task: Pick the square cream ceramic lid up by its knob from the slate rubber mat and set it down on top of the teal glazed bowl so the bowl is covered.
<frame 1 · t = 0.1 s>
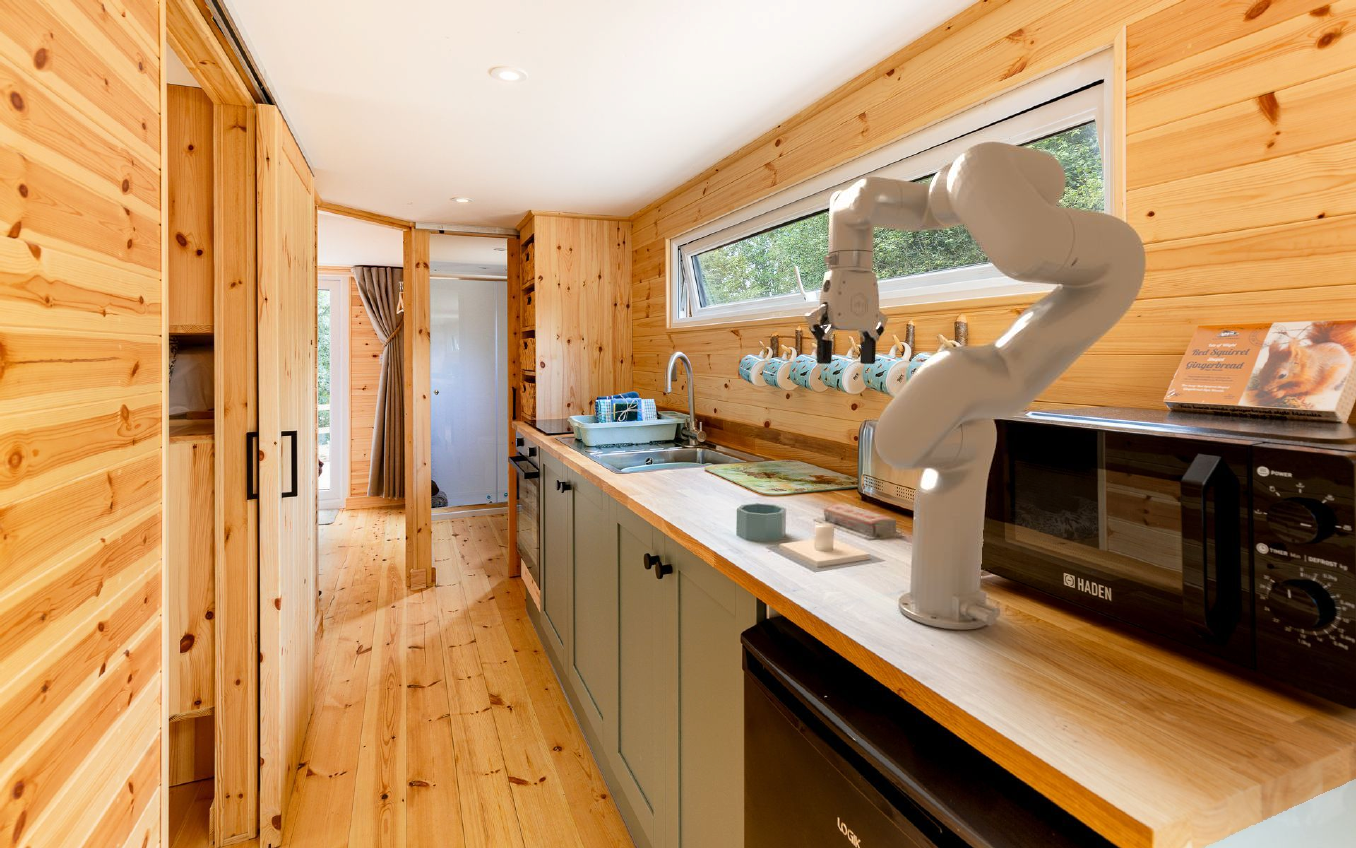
hand: (846, 363, 114), 37 cm above the worktop, tool pointing down, fingers open, 9 cm apart
mat: (823, 555, 124), on the worktop
lid: (823, 553, 124), resting on mat
packaged product: (856, 532, 143), on the worktop
bowl: (760, 536, 136), on the worktop
lidded jar: (956, 575, 114), on the worktop
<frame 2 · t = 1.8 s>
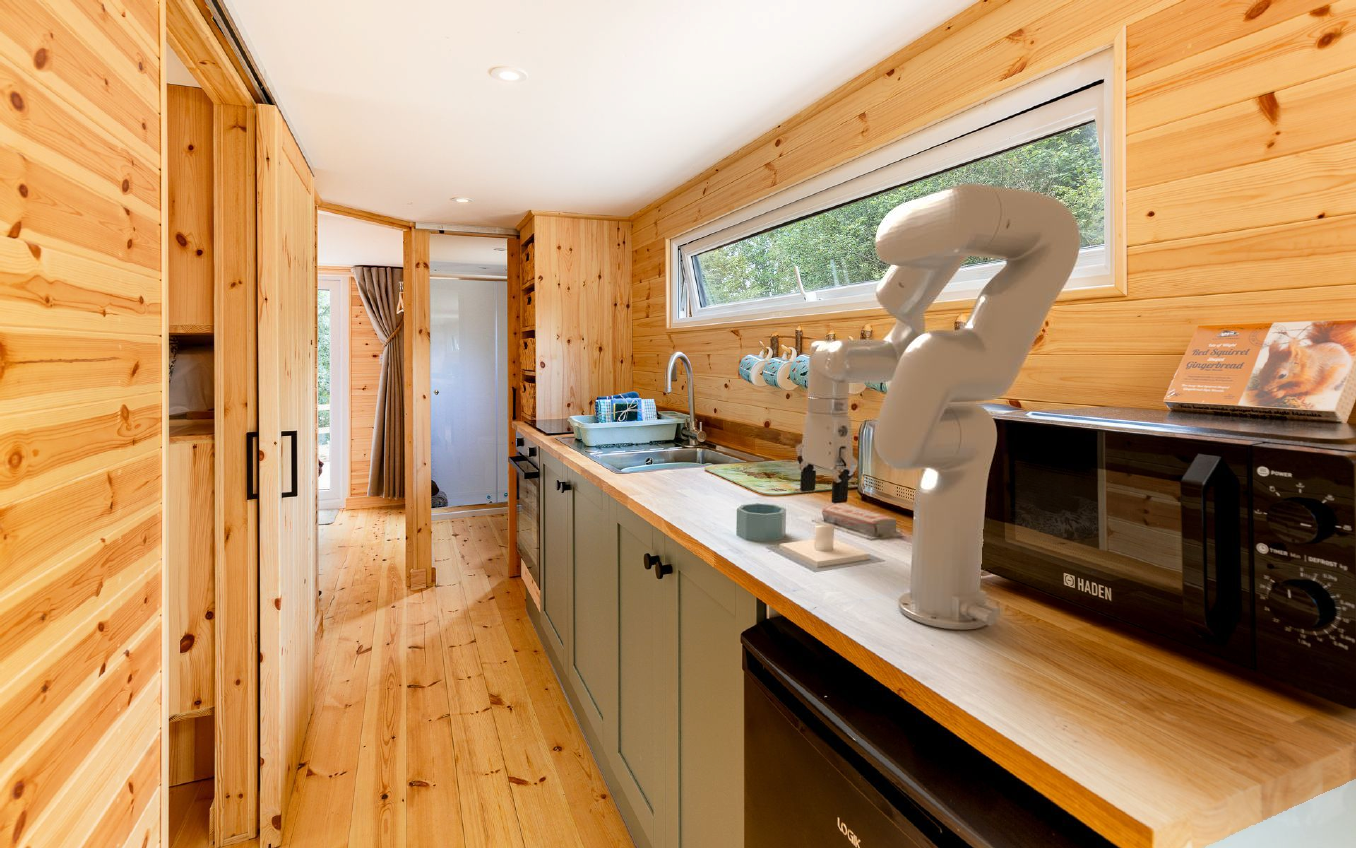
hand: (822, 496, 123), 11 cm above the worktop, tool pointing down, fingers open, 9 cm apart
nothing on the worktop moved.
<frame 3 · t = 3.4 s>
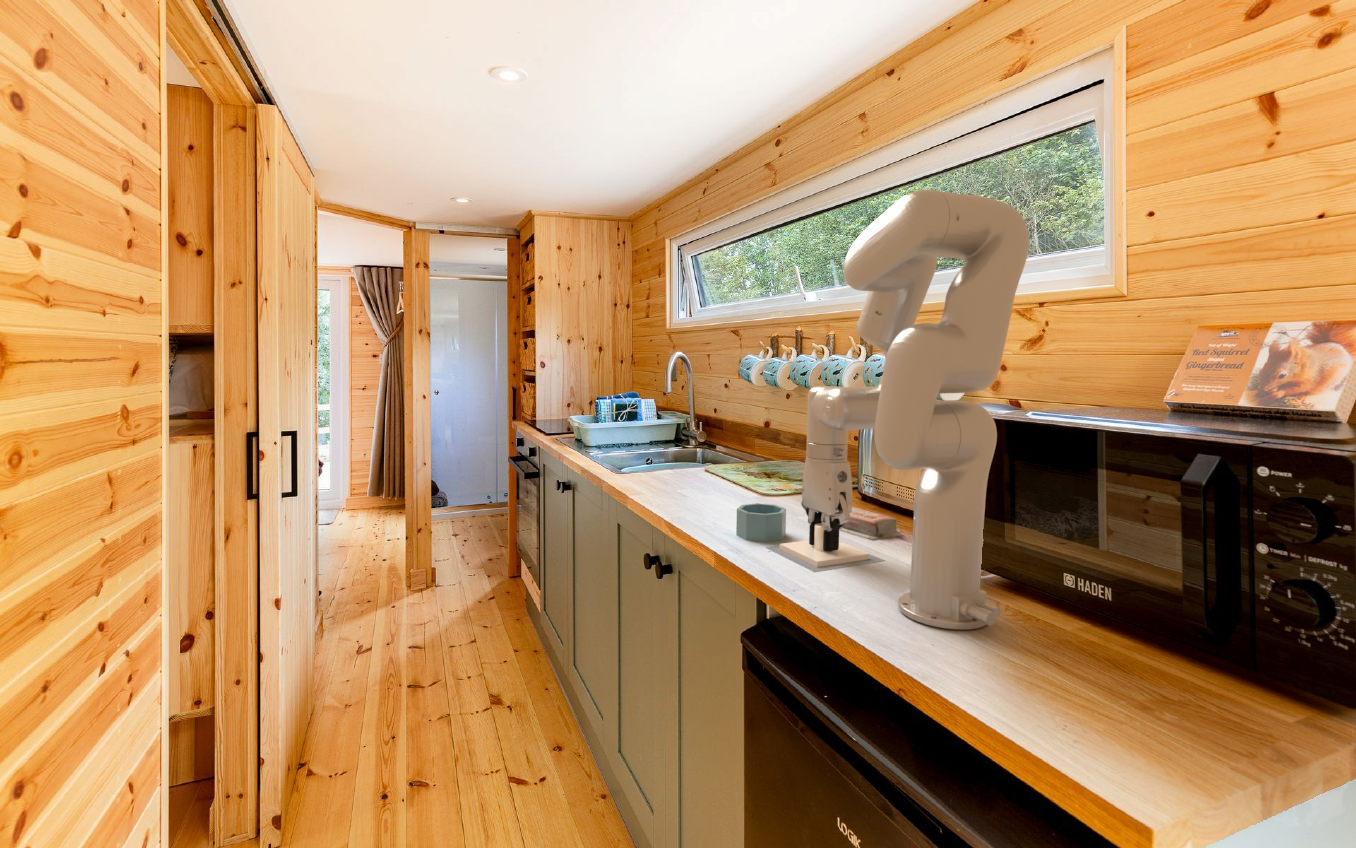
hand: (823, 546, 123), 2 cm above the worktop, tool pointing down, fingers closed on lid, 3 cm apart
lid: (823, 553, 124), resting on mat, touching gripper
everything else where it was.
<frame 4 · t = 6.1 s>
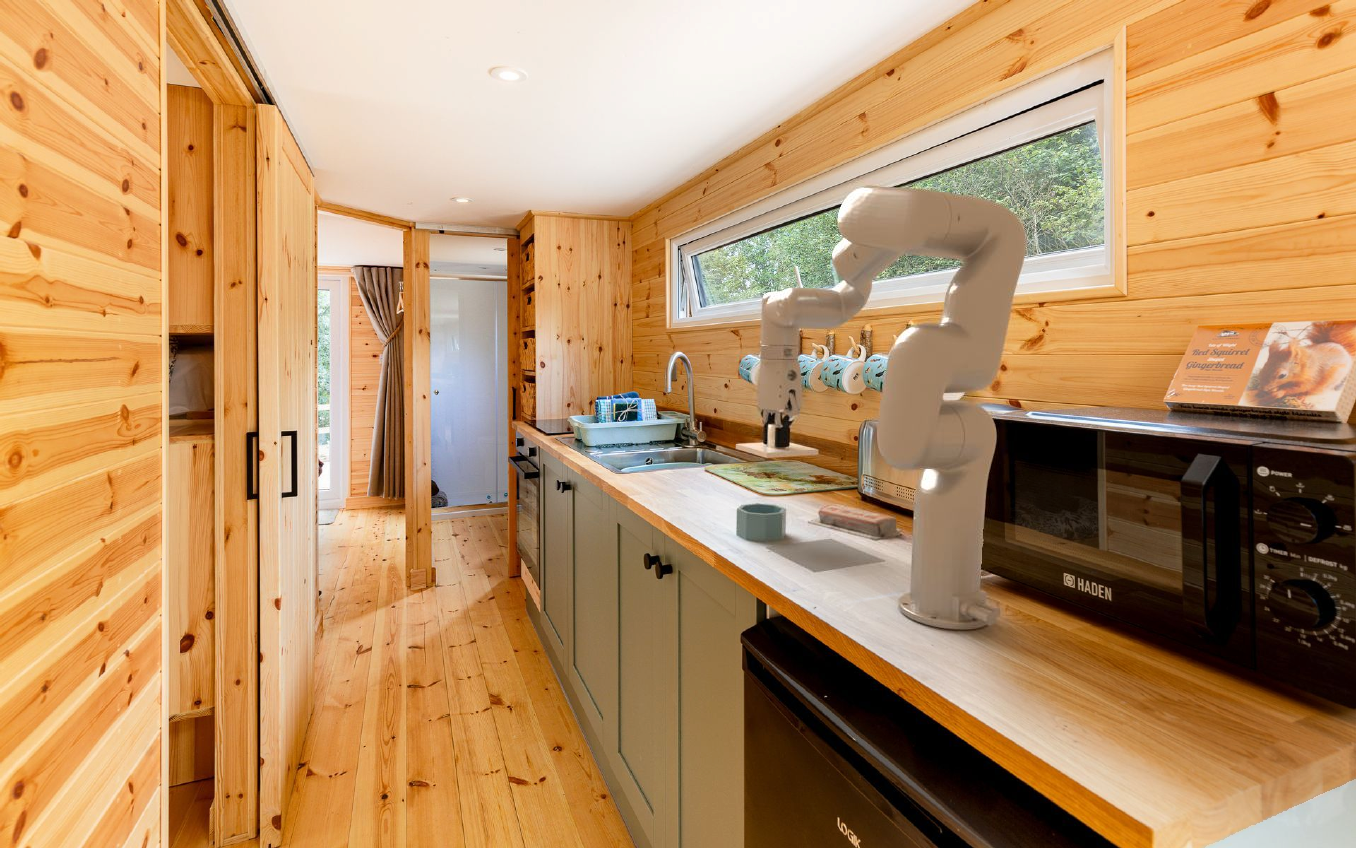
hand: (776, 444, 132), 20 cm above the worktop, tool pointing down, fingers closed on lid, 3 cm apart
lid: (776, 451, 132), point 19 cm above the worktop, touching gripper
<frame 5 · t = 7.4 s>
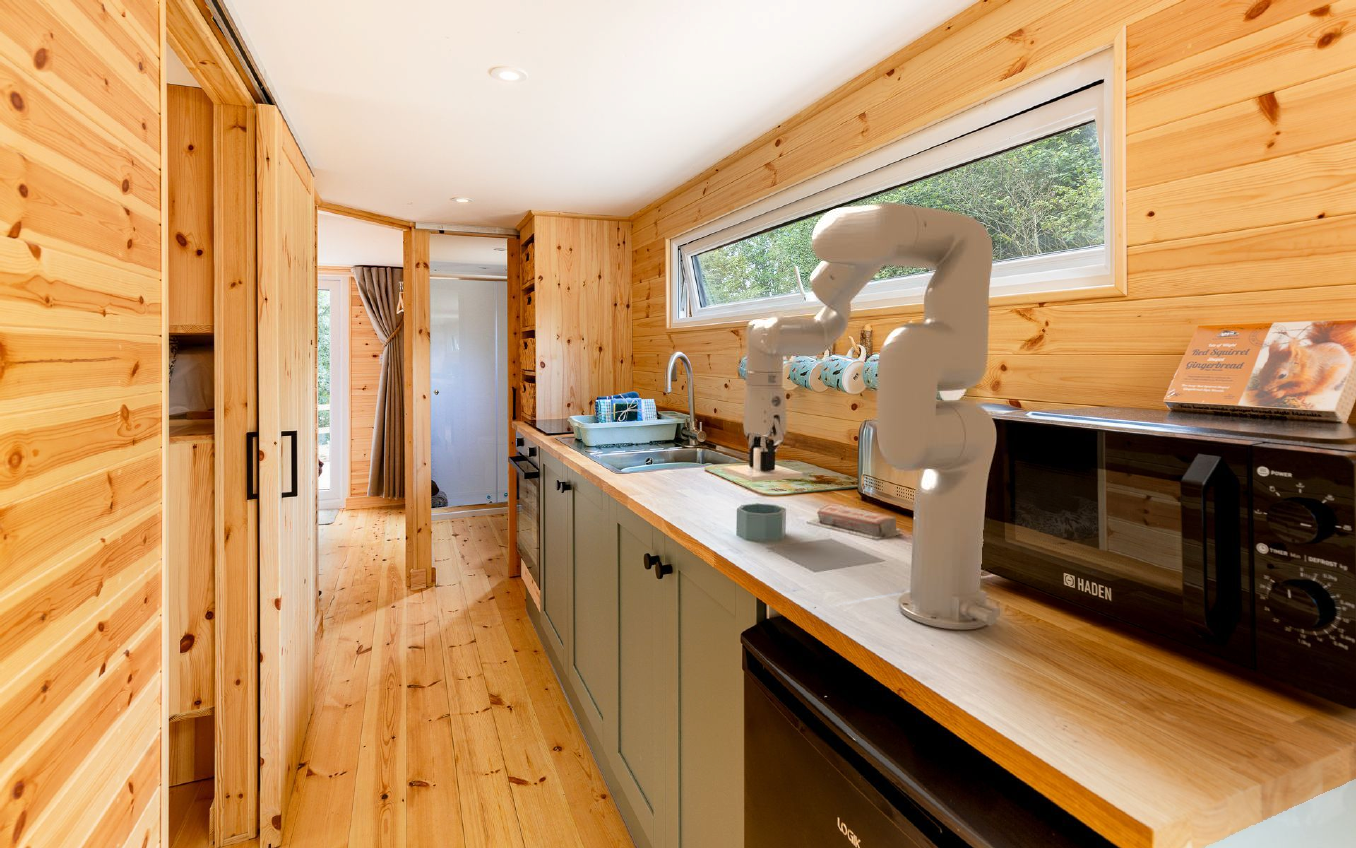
hand: (761, 467, 135), 15 cm above the worktop, tool pointing down, fingers closed on lid, 3 cm apart
lid: (761, 474, 135), point 13 cm above the worktop, touching gripper
when the fingers open (9 cm above the worktop, at t = 8.7 s): lid drops 1 cm, resting on bowl.
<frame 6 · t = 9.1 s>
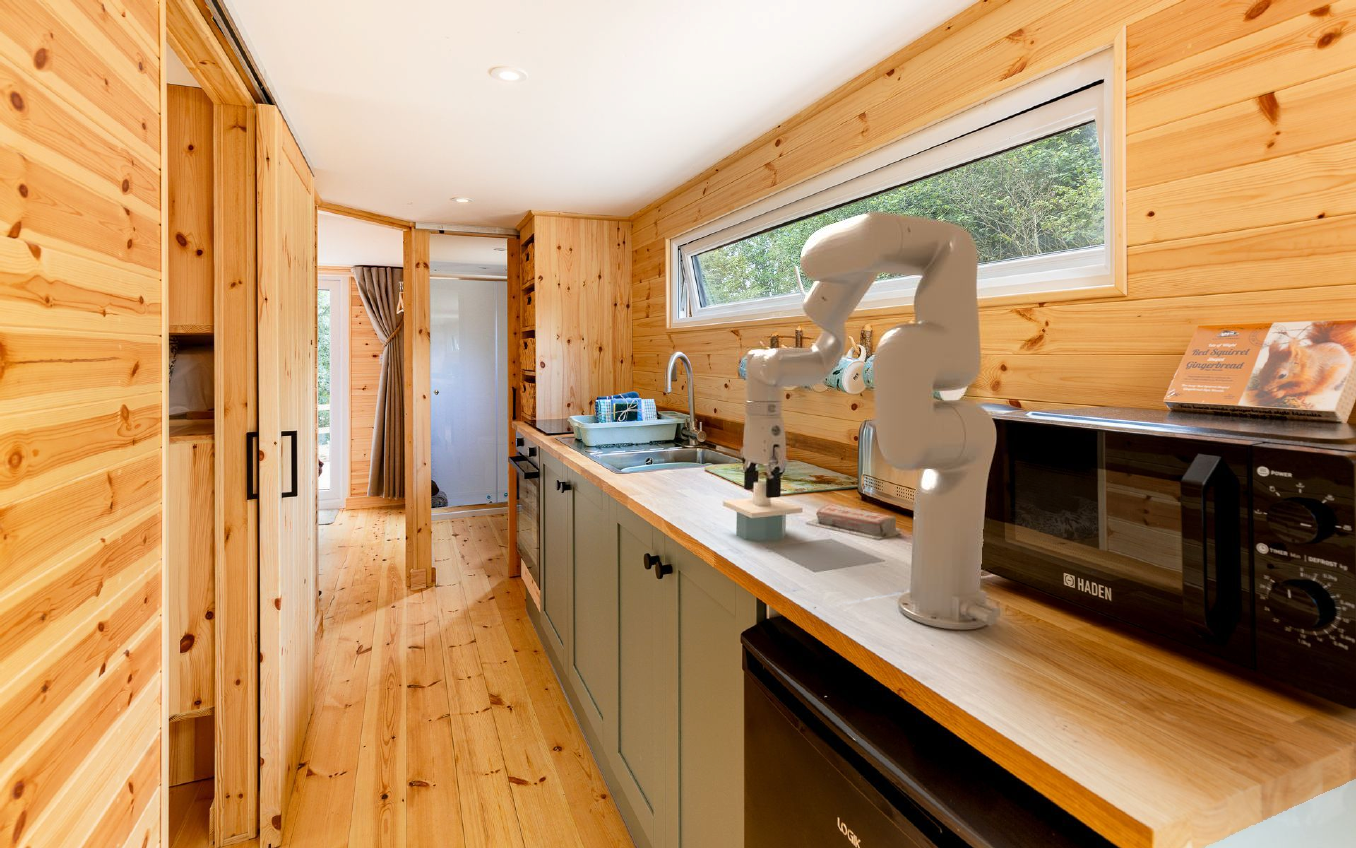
hand: (761, 492, 135), 9 cm above the worktop, tool pointing down, fingers open, 8 cm apart
lid: (761, 508, 136), point 6 cm above the worktop, touching bowl
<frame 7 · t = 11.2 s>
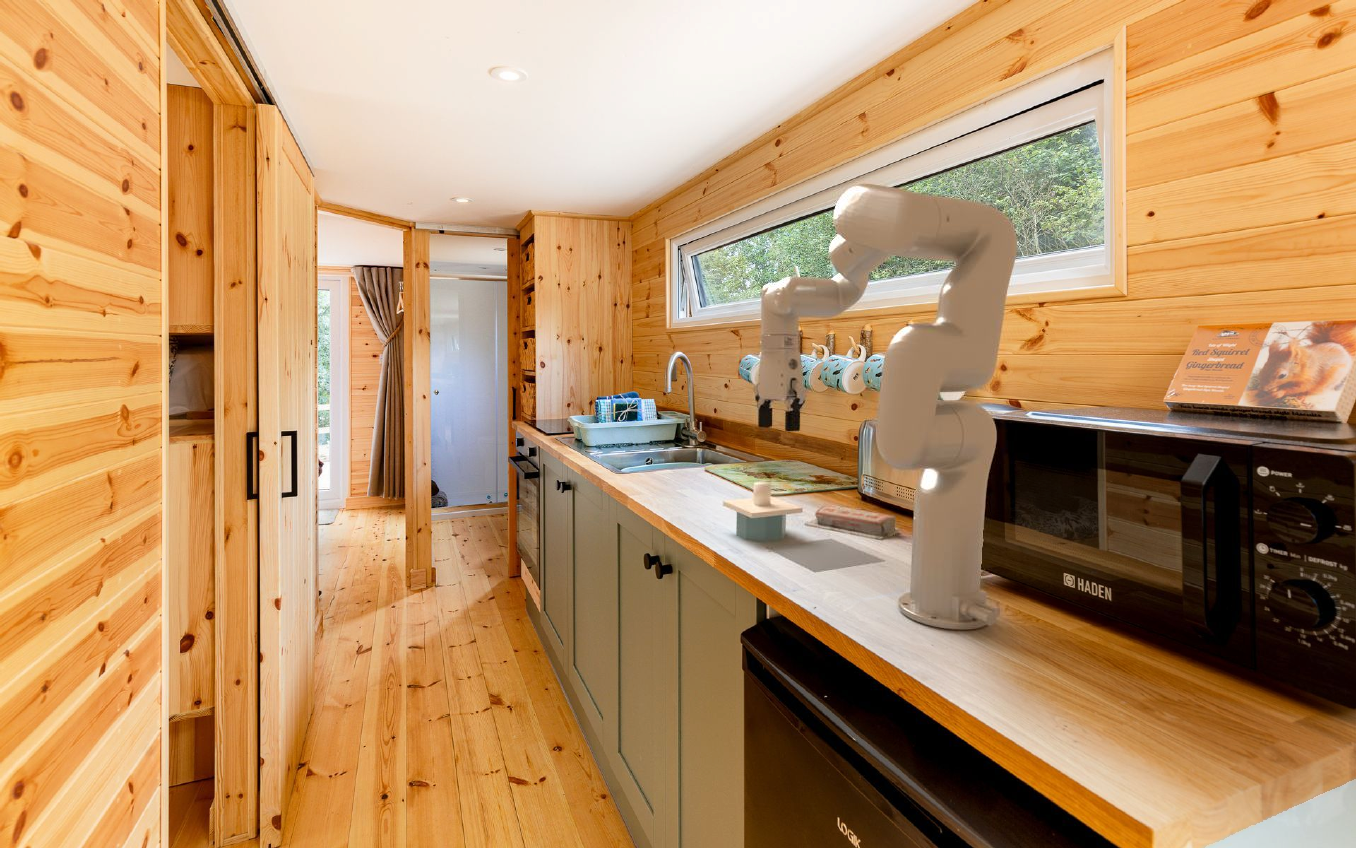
hand: (778, 428, 133), 23 cm above the worktop, tool pointing down, fingers open, 9 cm apart
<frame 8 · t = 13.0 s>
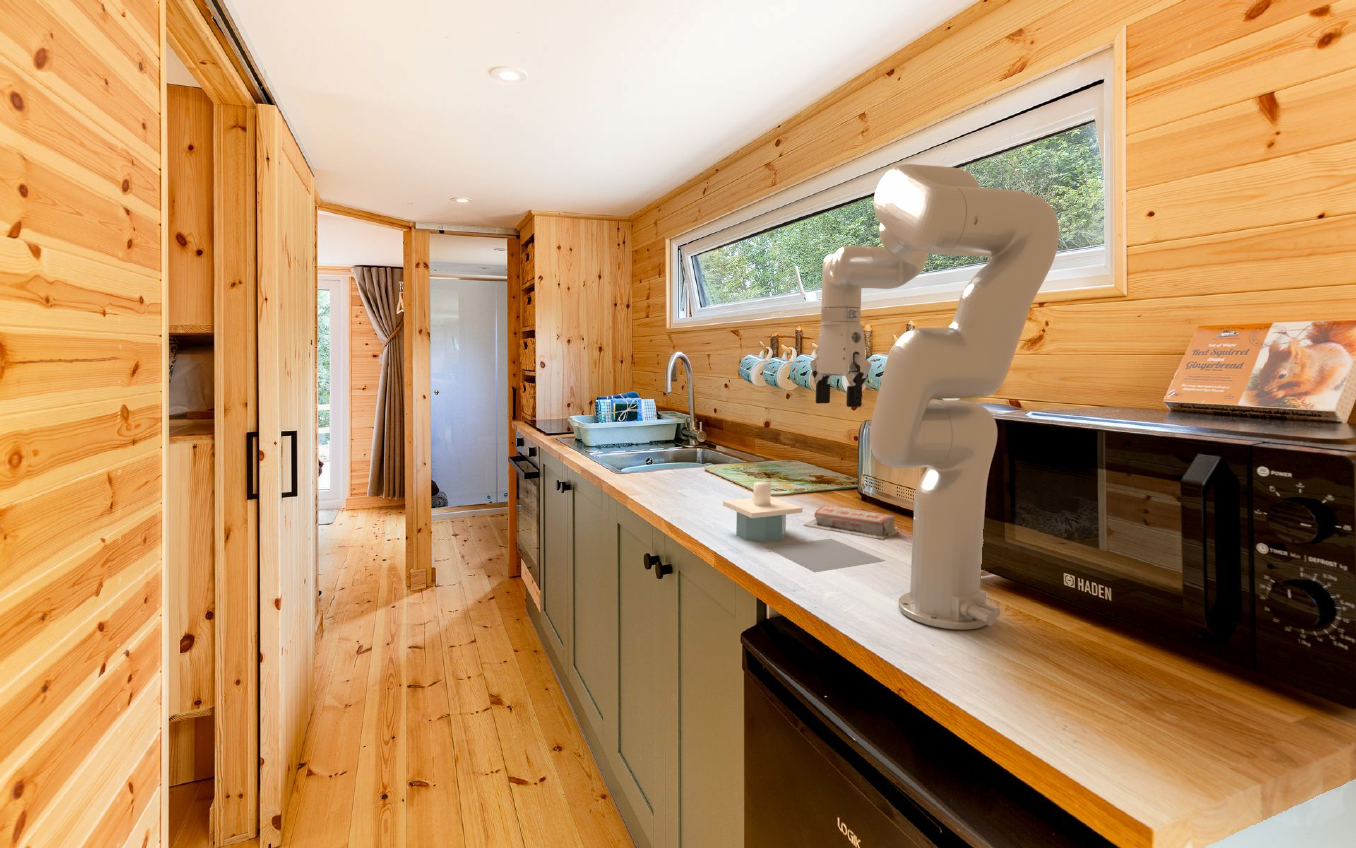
hand: (837, 404, 129), 28 cm above the worktop, tool pointing down, fingers open, 9 cm apart
at the end: lid 0.1 cm off-centre on the bowl, point 6.0 cm above the bowl's base; lid tilted 0°; the gripper is holding nothing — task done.
